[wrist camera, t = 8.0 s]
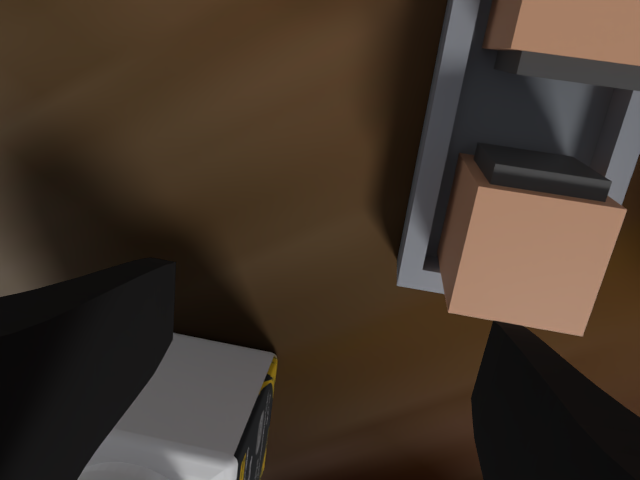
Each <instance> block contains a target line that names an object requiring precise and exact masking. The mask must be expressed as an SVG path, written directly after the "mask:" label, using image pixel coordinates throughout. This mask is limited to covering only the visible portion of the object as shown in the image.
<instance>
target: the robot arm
mask: <svg viewBox="0 0 640 480" xmlns="http://www.w3.org/2000/svg"><path fill="white" fill-rule="evenodd" d="M175 272H176V262H172V261H167V260H161V259H156V258H144V259H139V260H135V261H131V262H128V263H124V264H121V265H117V266H114V267H111V268H108V269H104V270H101V271H98V272H95V273H91V274H88V275H85V276H82V277H78V278H75V279H71V280H68V281H64V282H60V283H57V284H53V285H49V286H45V287H42V288H38V289H34V290H31V291H26V292H22V293H18V294H13V295H8V296H3V297H0V480H77V479H78V478H79V476H80V475H81V473H82V471H83V470H84V468H85V466H86V465H87V463H88V462H89V461H90V459H91V458H92V456H93V455H94V453H95V452H96V450H97V449H98V448H99V446H100V445H101V444H102V442H103V441H104V440H105V438H106V437H107V436H108V434H109V433H110V432H111V431H112V429H113V428H114V427H115V425H116V424H117V423H118V421H119V420H120V419H121V417H122V416H123V415H124V413H125V412H126V411H127V410H128V408H129V407H130V406H131V404H132V403H133V402H134V400H135V399H136V398H137V396H138V395H139V394H140V392H141V391H142V390H143V388H144V387H145V386H146V384H147V383H148V382H149V380H150V379H151V377H152V376H153V375H154V373H155V372H156V370H157V368H158V366H159V364H160V363H161V361H162V359H163V357H164V355H165V354H166V352H167V350H168V348H169V346H170V344H171V342H172V340H173V325H174V299H175ZM471 402H472V417H473V428H474V438H475V443H476V448H477V452H478V457H479V461H480V466H481V470H482V475H483V479H484V480H640V417H638V416H637V415H636V414H634V413H633V412H631V411H630V410H628V409H627V408H626V407H624V406H623V405H622V404H620V403H619V402H618V401H616V400H615V399H614V398H612V397H611V396H610V395H608V394H607V393H605V392H604V391H603V390H601V389H600V388H599V387H598V386H596V385H595V384H594V383H593V382H591V381H590V380H589V379H588V378H586V377H585V376H584V375H583V374H581V373H580V372H579V371H578V370H577V369H575V368H574V367H573V366H572V365H571V364H569V363H568V362H567V361H566V360H565V359H563V358H562V357H561V356H560V355H559V354H558V353H556V352H555V351H554V350H553V349H552V348H551V347H549V346H548V345H547V344H546V343H545V342H543V341H542V340H541V339H540V338H539V337H537V336H536V335H535V334H533V333H532V332H531V331H530V330H528V329H527V328H525V327H524V326H522V325H516V324H511V323H505V322H500V321H495V320H493V324H492V327H491V331H490V334H489V338H488V341H487V344H486V348H485V351H484V355H483V358H482V362H481V365H480V369H479V372H478V376H477V379H476V383H475V386H474V390H473V393H472V397H471Z"/></svg>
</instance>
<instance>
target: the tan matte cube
mask: <svg viewBox="0 0 640 480" xmlns="http://www.w3.org/2000/svg"><path fill="white" fill-rule="evenodd" d="M482 48H484V49H491V50H498V53H497V57H496V61H495V66H494V69H495V70H500V71H504V72H508V73H513V74H518V75H525V76H532V77H539V78H547V79H554V80H561V81H569V82H576V83H583V84H591V85H598V86H605V87H612V88H620V89H627V90H634V91H640V0H492V4H491V9H490V13H489V18H488V22H487V27H486V31H485V36H484V40H483V45H482Z"/></svg>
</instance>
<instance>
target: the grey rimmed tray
mask: <svg viewBox="0 0 640 480" xmlns="http://www.w3.org/2000/svg"><path fill="white" fill-rule="evenodd" d="M491 4H492V0H448V2H447V7H446V12H445V17H444V22H443V27H442V32H441V37H440V43H439V48H438V53H437V58H436V63H435V68H434V73H433V79H432V84H431V89H430V94H429V99H428V104H427V109H426V115H425V120H424V125H423V130H422V135H421V140H420V145H419V150H418V156H417V161H416V166H415V171H414V176H413V181H412V186H411V192H410V197H409V202H408V207H407V212H406V217H405V222H404V228H403V233H402V238H401V243H400V248H399V253H398V258H397V286H402V287H408V288H413V289H419V290H425V291H431V292H436V293H442V294H445V299H446V304H447V310H448V313H454V314H459V315H465V316H470V317H476V318H482V319H487V320H495V321H500V322H505V323H511V324H516V325H522V326H527V327H533V328H538V329H544V330H549V331H555V332H561V333H566V334H572V335H578V336H583V334H584V331H585V328H586V325H587V322H588V319H589V317H590V314H591V311H592V308H593V305H594V302H595V300H596V297H597V294H598V291H599V288H600V285H601V282H602V280H603V277H604V274H605V271H606V268H607V265H608V263H609V260H610V257H611V254H612V251H613V248H614V246H615V243H616V240H617V237H618V234H619V231H620V229H621V226H622V223H623V220H624V217H625V214H626V212H627V209H626V208H624V207H623V206H622V202H623V200H624V197H625V194H626V191H627V188H628V185H629V182H630V179H631V177H632V174H633V171H634V168H635V165H636V162H637V159H638V156H639V154H640V91H634V90H627V89H620V88H612V87H605V86H598V85H591V84H583V83H576V82H569V81H561V80H554V79H547V78H539V77H532V76H525V75H518V74H513V73H508V72H504V71H500V70H495V69H494V66H495V61H496V57H497V53H498V50H491V49H484V48H482V45H483V40H484V36H485V31H486V27H487V22H488V18H489V13H490V9H491Z"/></svg>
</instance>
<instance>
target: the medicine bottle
mask: <svg viewBox="0 0 640 480" xmlns="http://www.w3.org/2000/svg"><path fill="white" fill-rule="evenodd" d="M276 369H277V356H276V355H275V354H274V353H272V352H267V351H262V350H257V349H252V348H247V347H242V346H237V345H232V344H227V343H222V342H217V341H212V340H207V339H202V338H197V337H192V336H187V335H182V334H177V333H173V340H172V342H171V344H170V346H169V348H168V350H167V352H166V354H165V355H164V357H163V359H162V361H161V363H160V364H159V366H158V368H157V370H156V372H155V373H154V375H153V376H152V377H151V379H150V380H149V382H148V383H147V384H146V386H145V387H144V388H143V390H142V391H141V392H140V394H139V395H138V396H137V398H136V399H135V400H134V402H133V403H132V404H131V406H130V407H129V408H128V410H127V411H126V412H125V413H124V415H123V416H122V417H121V419H120V420H119V421H118V423H117V424H116V425H115V427H114V428H113V429H112V431H111V432H110V433H109V434H108V436H107V437H106V438H105V440H104V441H103V442H102V444H101V445H100V446H99V448H98V449H97V450H96V452H95V453H94V455H93V456H92V458H91V459H90V461H89V462H88V463H87V465H86V466H85V468H84V470H83V471H82V473H81V475H80V476H79V478H78V479H77V480H260V479H261V476H262V473H263V470H264V464H265V456H266V448H267V440H268V432H269V425H270V417H271V409H272V401H273V393H274V385H275V377H276Z"/></svg>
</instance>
